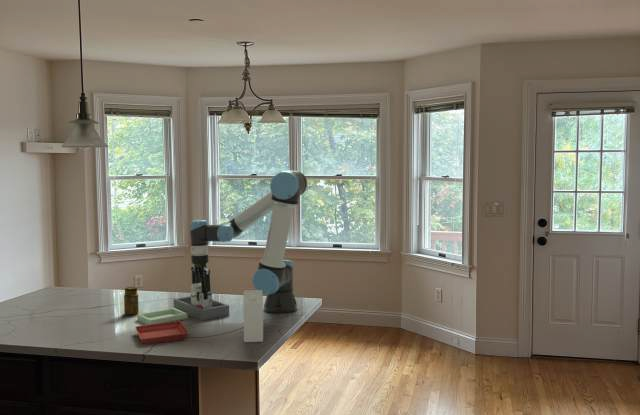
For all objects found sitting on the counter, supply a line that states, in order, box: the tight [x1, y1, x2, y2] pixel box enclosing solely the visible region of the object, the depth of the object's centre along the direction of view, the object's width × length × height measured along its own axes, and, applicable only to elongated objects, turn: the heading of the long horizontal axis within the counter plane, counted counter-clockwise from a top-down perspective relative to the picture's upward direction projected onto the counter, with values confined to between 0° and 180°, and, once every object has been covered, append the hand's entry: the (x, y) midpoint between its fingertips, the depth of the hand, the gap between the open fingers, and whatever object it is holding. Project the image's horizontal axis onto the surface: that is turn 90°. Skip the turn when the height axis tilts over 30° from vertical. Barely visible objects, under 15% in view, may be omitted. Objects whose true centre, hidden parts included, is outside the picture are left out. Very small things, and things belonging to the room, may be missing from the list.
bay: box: [173, 295, 230, 321], centre depth 269 cm, size 27×14×4 cm, turn 40°
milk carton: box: [242, 289, 264, 343], centre depth 226 cm, size 7×7×19 cm
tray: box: [136, 307, 189, 325], centre depth 256 cm, size 13×17×2 cm
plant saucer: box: [135, 320, 190, 345], centre depth 231 cm, size 18×18×3 cm
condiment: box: [122, 286, 141, 318], centre depth 264 cm, size 7×8×12 cm
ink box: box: [190, 282, 213, 309], centre depth 268 cm, size 8×5×12 cm, turn 124°
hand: (201, 305), depth 269 cm, fingers closed on ink box, 5 cm apart
